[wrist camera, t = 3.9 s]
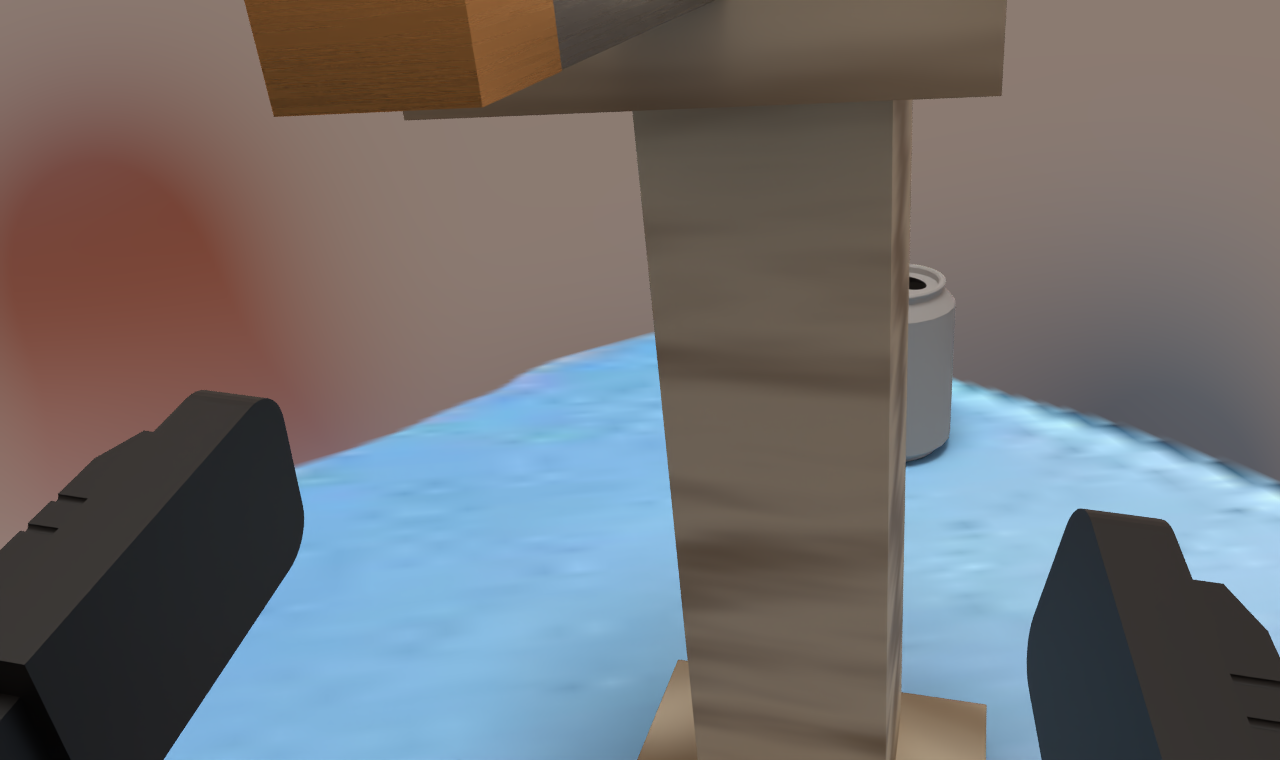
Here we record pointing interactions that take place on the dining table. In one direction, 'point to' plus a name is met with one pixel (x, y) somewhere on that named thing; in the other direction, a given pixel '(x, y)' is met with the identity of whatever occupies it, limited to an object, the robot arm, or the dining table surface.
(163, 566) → the robot arm
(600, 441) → the dining table surface
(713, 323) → the stand
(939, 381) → the can
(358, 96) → the bar
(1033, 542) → the dining table surface
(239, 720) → the dining table surface
